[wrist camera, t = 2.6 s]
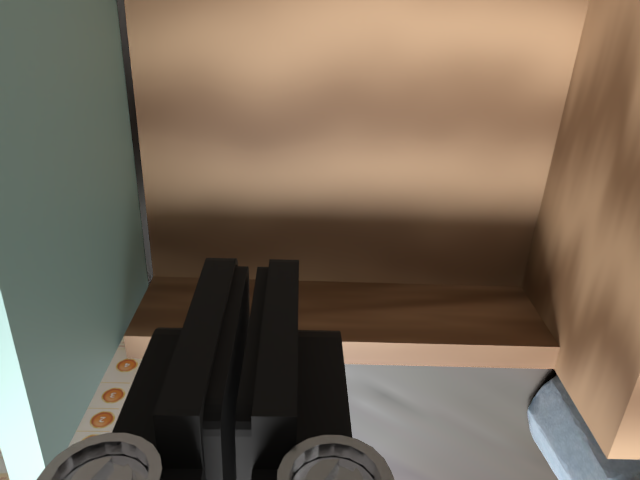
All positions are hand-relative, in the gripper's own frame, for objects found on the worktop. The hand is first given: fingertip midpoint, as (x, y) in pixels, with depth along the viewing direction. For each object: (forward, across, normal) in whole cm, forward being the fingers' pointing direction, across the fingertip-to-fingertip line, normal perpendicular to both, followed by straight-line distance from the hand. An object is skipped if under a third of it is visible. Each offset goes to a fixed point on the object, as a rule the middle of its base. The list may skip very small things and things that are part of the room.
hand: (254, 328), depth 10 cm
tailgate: (+16, +7, -1) cm, 18 cm away
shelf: (+20, -4, -1) cm, 20 cm away
